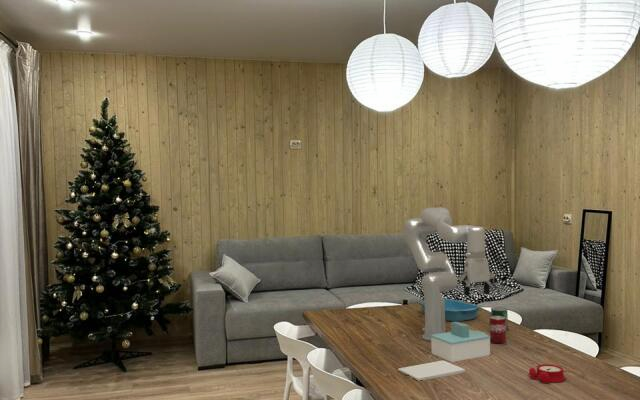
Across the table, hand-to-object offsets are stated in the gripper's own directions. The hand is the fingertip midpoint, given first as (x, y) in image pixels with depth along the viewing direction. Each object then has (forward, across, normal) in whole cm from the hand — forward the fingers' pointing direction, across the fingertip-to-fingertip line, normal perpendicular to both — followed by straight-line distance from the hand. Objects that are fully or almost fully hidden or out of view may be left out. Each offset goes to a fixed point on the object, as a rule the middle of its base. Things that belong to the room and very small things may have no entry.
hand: (476, 294), depth 248 cm
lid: (+19, -8, 0) cm, 21 cm away
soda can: (+26, +17, +11) cm, 33 cm away
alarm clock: (+26, +6, -37) cm, 46 cm away
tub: (+26, -8, 0) cm, 27 cm away
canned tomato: (+26, +32, +31) cm, 51 cm away
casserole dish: (+26, +26, +69) cm, 78 cm away
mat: (+26, -30, -14) cm, 42 cm away
